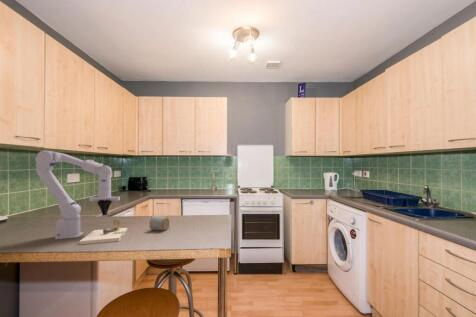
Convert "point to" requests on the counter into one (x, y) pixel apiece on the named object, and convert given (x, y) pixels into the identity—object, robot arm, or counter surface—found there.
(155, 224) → the grey cylinder
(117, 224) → the wooden handled crank
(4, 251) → the counter surface
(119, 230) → the board
